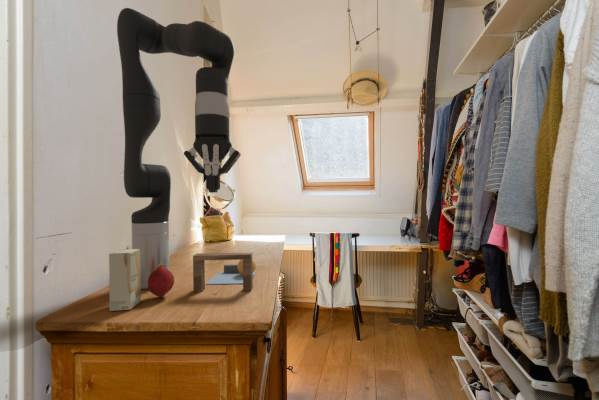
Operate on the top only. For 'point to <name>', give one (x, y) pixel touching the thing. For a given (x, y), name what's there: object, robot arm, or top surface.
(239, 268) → the ball
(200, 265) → the bridge
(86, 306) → the top surface
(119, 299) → the skincare box
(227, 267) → the stopper strip
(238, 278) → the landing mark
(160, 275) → the onion
